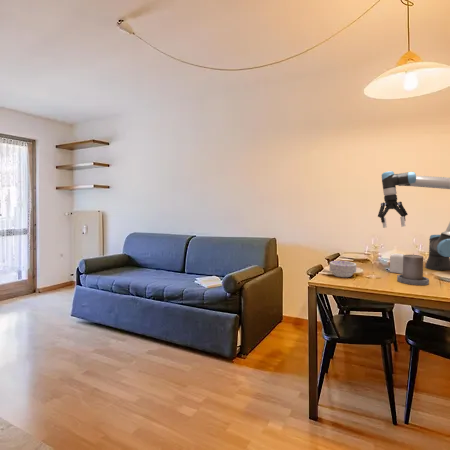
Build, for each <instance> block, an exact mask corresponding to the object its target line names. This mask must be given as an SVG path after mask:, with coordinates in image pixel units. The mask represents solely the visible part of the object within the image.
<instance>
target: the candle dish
mask: <svg viewBox="0 0 450 450" xmlns="http://www.w3.org/2000/svg"><path fill="white" fill-rule="evenodd" d="M396 279H397V282H399V283H401V284H405V285H411V286H427V285H429V283H430V279H429V278H428V277H425V276H423V280H410V279H404V278H403V274H397V277H396Z"/></svg>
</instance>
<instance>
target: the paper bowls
mask: <svg viewBox="0 0 450 450" xmlns="http://www.w3.org/2000/svg"><path fill="white" fill-rule="evenodd" d="M329 272H332V274H333V276H335V277H338V278H350V277H352V276H353V275H354V273H355V274H356V272H357V263H356V262H352V261H347V260H332V261H329Z"/></svg>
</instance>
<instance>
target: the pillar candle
mask: <svg viewBox="0 0 450 450" xmlns="http://www.w3.org/2000/svg"><path fill="white" fill-rule="evenodd" d="M402 275H403V278H404V279H410V280H423V277H424V256H423V255H420V254H415V253H413V254H404V255H403V274H402Z"/></svg>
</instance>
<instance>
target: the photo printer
mask: <svg viewBox="0 0 450 450" xmlns="http://www.w3.org/2000/svg"><path fill="white" fill-rule="evenodd" d="M403 255H405V254H403V253H391V254H390V256H389V272H390V273H392V274H393V273H394V274H399V275H403Z"/></svg>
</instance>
